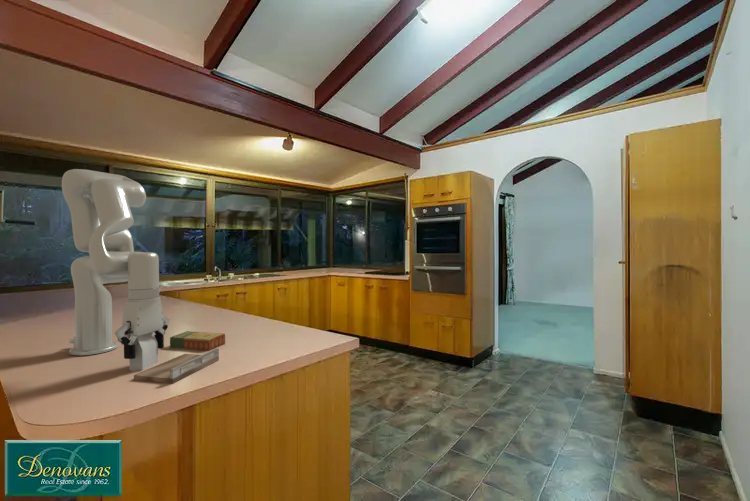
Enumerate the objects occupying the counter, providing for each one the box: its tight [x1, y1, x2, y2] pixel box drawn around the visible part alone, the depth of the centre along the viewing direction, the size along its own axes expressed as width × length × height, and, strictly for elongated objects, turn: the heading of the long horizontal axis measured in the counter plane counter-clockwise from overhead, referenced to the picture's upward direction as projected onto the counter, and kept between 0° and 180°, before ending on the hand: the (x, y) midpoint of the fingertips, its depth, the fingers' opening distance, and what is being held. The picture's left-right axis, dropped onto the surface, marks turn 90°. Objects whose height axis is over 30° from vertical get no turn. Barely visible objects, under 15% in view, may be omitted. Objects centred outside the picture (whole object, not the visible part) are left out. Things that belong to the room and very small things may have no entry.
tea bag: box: [128, 332, 159, 371], centre depth 99 cm, size 4×7×10 cm, turn 0°
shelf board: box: [133, 347, 220, 384], centre depth 97 cm, size 12×18×4 cm
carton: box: [169, 330, 226, 352], centre depth 120 cm, size 8×16×4 cm, turn 77°
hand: (144, 353), depth 99 cm, fingers open, 9 cm apart
